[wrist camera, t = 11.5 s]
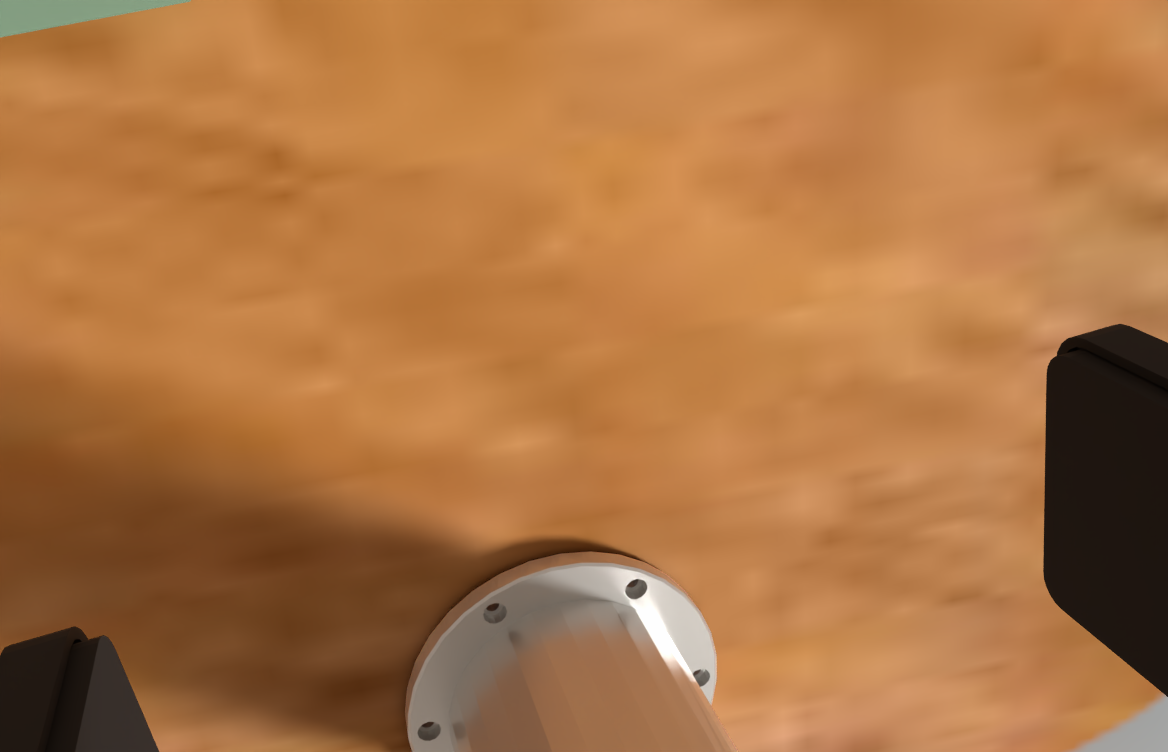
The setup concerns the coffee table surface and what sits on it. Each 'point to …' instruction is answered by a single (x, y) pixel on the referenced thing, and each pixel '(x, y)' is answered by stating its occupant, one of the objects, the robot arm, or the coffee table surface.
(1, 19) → the frame
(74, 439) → the coffee table surface
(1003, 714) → the coffee table surface
